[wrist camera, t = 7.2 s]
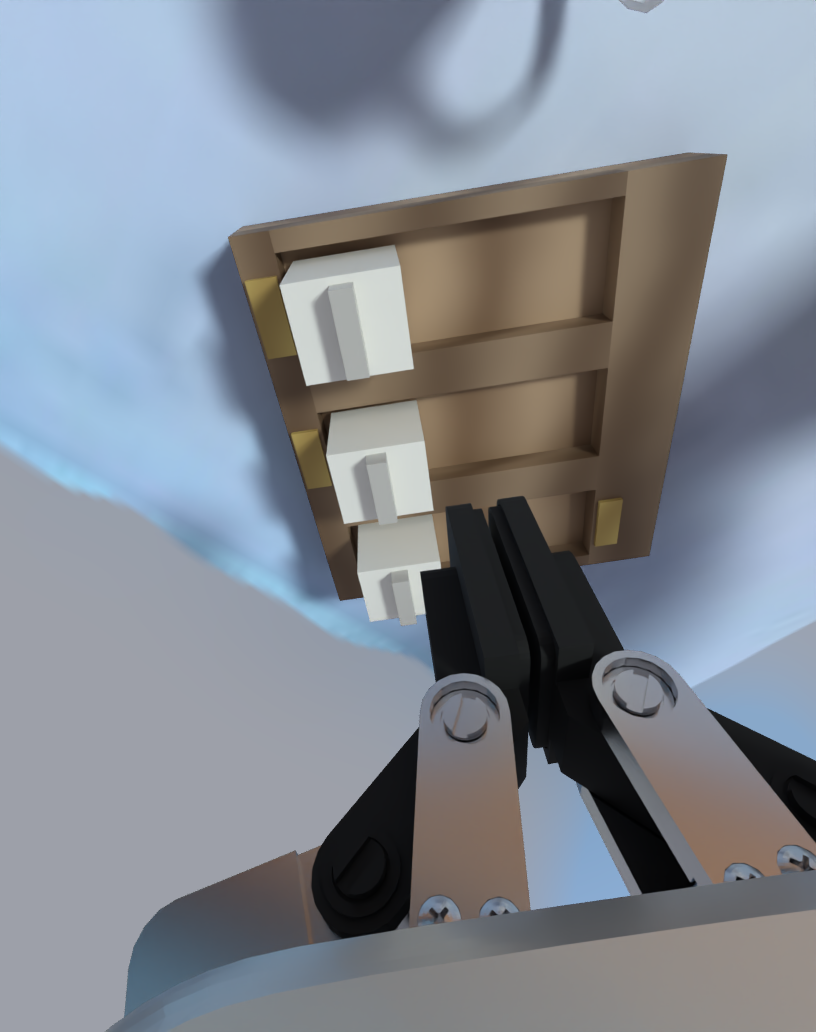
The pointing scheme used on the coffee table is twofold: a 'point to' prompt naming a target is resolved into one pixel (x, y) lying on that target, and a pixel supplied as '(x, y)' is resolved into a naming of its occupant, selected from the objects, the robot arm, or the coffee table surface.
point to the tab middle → (379, 462)
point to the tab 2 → (396, 566)
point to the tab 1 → (348, 315)
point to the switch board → (514, 345)
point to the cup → (641, 4)
